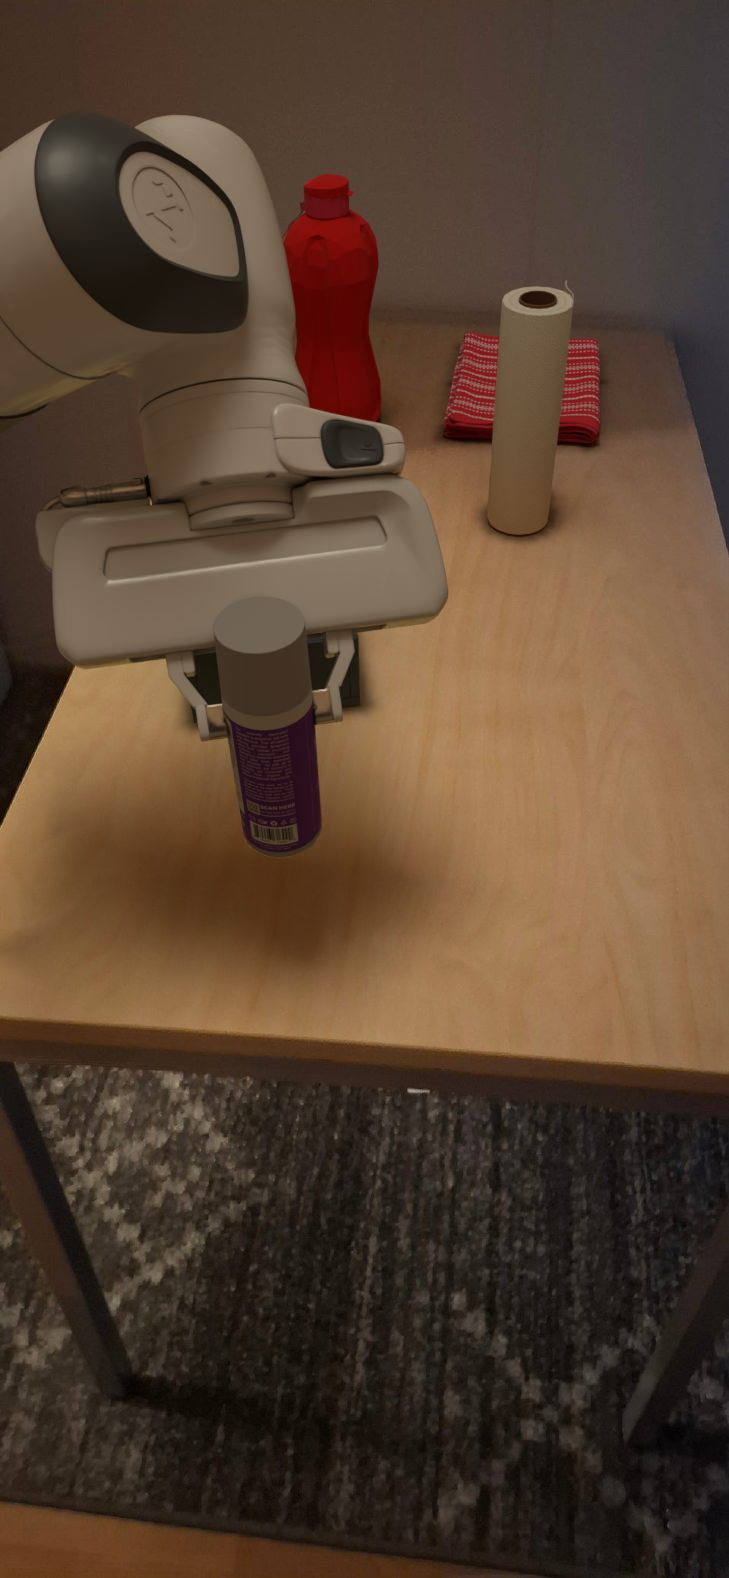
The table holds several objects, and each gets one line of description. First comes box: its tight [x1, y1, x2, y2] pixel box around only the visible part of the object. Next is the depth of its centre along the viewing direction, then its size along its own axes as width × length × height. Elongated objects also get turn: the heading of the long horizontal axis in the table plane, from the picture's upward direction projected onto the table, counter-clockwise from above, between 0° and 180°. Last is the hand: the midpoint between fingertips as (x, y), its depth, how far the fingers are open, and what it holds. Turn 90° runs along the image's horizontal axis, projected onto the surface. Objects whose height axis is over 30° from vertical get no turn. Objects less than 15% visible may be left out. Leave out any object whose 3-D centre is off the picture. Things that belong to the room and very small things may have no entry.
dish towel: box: [442, 331, 601, 444], centre depth 120 cm, size 17×24×3 cm
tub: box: [186, 633, 362, 723], centre depth 87 cm, size 14×14×7 cm
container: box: [213, 597, 323, 859], centre depth 56 cm, size 5×5×15 cm
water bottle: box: [282, 173, 382, 423], centre depth 108 cm, size 9×11×25 cm
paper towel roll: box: [486, 279, 575, 536], centre depth 95 cm, size 7×6×21 cm
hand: (272, 731), depth 55 cm, fingers closed on container, 4 cm apart
